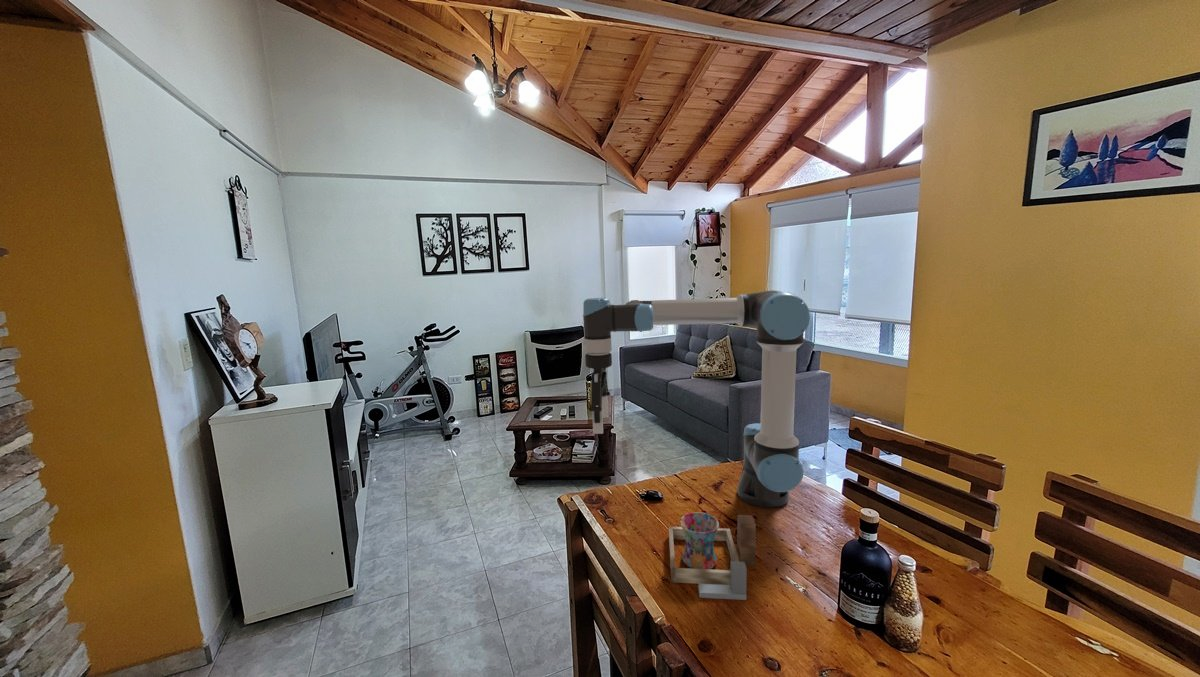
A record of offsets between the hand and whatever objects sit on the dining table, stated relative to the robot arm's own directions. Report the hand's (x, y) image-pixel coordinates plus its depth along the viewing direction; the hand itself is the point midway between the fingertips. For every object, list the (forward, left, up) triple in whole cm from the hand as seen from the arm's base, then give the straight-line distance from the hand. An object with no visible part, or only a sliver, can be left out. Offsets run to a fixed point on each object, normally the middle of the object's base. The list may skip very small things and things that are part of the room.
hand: (601, 424), depth 130 cm
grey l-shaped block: (-30, +32, -28) cm, 52 cm away
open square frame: (-29, +19, -28) cm, 45 cm away
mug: (-27, +20, -28) cm, 43 cm away
